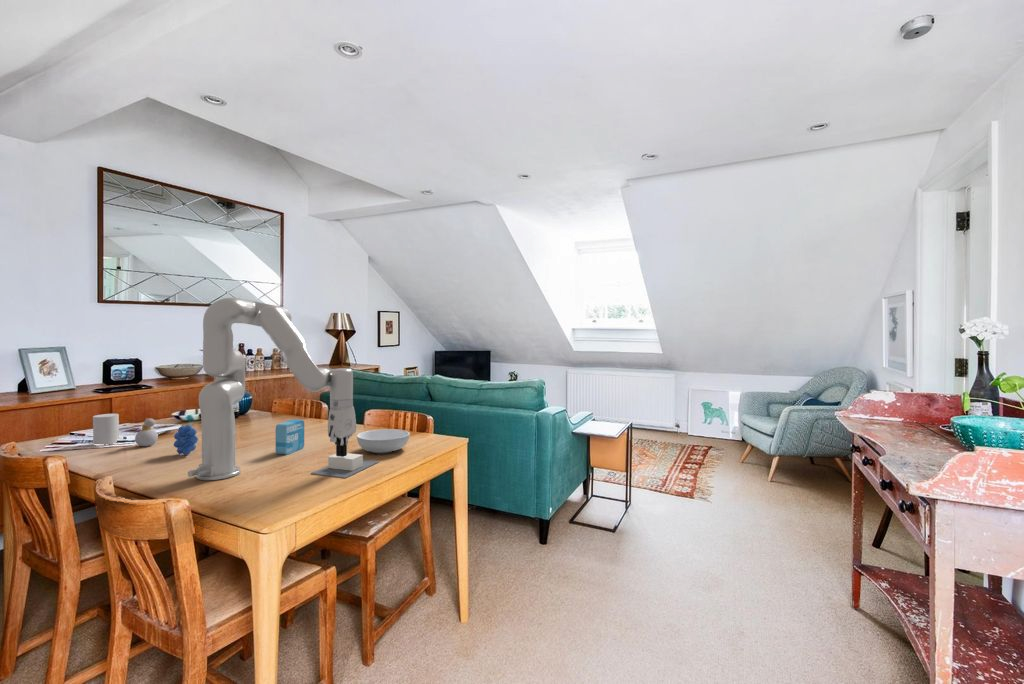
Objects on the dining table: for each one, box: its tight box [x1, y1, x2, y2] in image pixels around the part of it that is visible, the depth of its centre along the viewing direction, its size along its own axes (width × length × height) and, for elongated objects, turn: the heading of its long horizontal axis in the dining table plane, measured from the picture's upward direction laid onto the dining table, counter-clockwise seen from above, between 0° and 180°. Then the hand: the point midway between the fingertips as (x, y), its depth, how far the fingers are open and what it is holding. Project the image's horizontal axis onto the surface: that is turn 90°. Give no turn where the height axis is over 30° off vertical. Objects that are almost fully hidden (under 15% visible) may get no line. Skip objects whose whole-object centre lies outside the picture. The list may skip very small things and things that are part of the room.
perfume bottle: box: [134, 417, 159, 447], centre depth 192 cm, size 8×10×12 cm
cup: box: [92, 413, 120, 445], centre depth 194 cm, size 8×8×12 cm
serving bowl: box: [356, 428, 410, 454], centre depth 190 cm, size 21×21×7 cm
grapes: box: [173, 424, 199, 456], centre depth 180 cm, size 12×7×12 cm, turn 71°
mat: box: [310, 458, 381, 479], centre depth 166 cm, size 20×14×1 cm
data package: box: [275, 418, 305, 456], centre depth 186 cm, size 12×4×12 cm, turn 170°
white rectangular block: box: [327, 452, 364, 471], centre depth 165 cm, size 4×10×6 cm
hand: (341, 455), depth 163 cm, fingers closed
